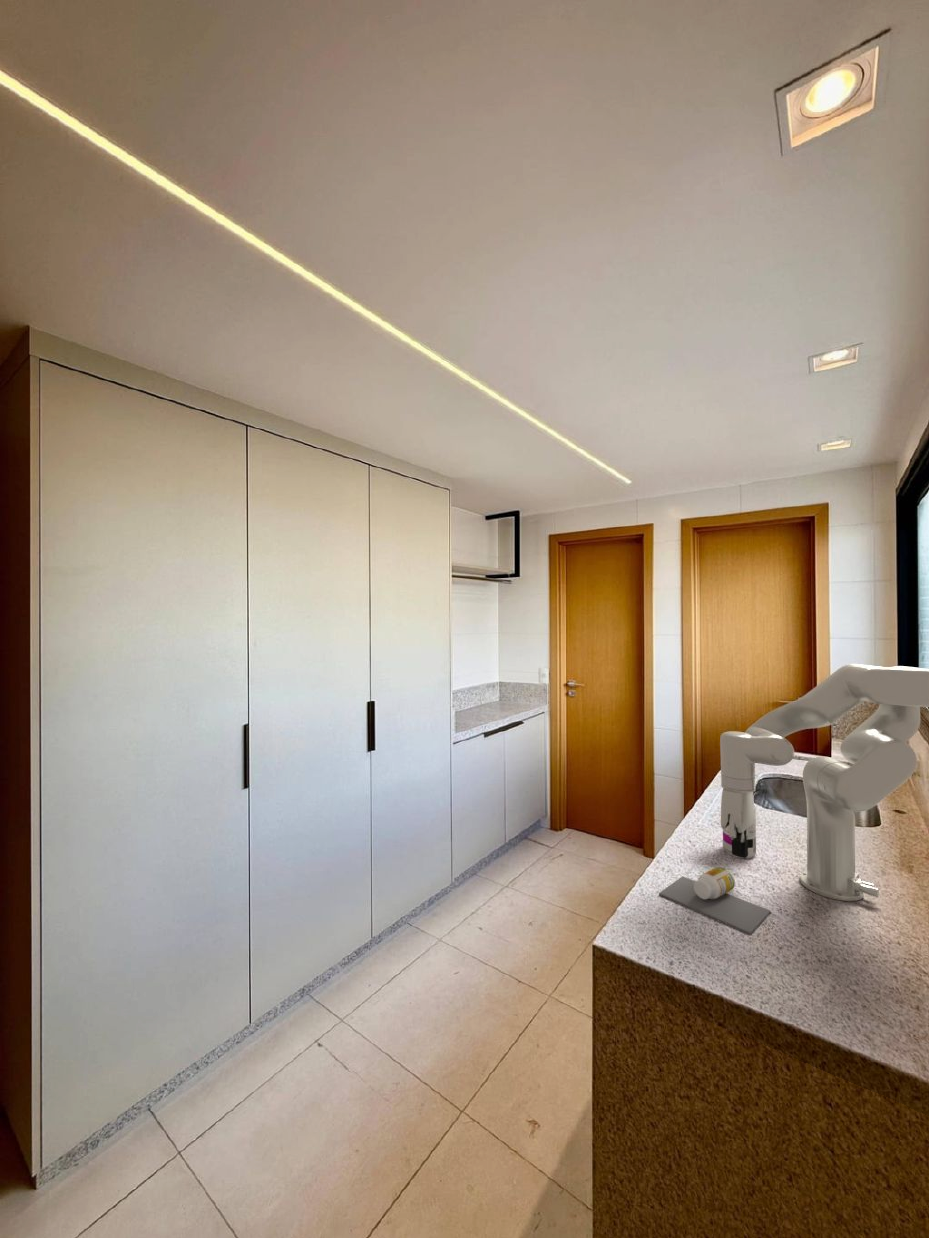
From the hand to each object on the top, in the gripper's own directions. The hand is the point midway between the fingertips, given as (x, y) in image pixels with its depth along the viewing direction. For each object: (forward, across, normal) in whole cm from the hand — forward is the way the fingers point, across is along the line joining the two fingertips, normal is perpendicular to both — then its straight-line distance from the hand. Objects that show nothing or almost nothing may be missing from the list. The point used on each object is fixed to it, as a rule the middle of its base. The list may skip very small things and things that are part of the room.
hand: (739, 855), depth 124 cm
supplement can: (+7, -17, -6) cm, 20 cm away
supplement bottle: (+4, +7, -1) cm, 8 cm away
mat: (+6, +15, -1) cm, 16 cm away
